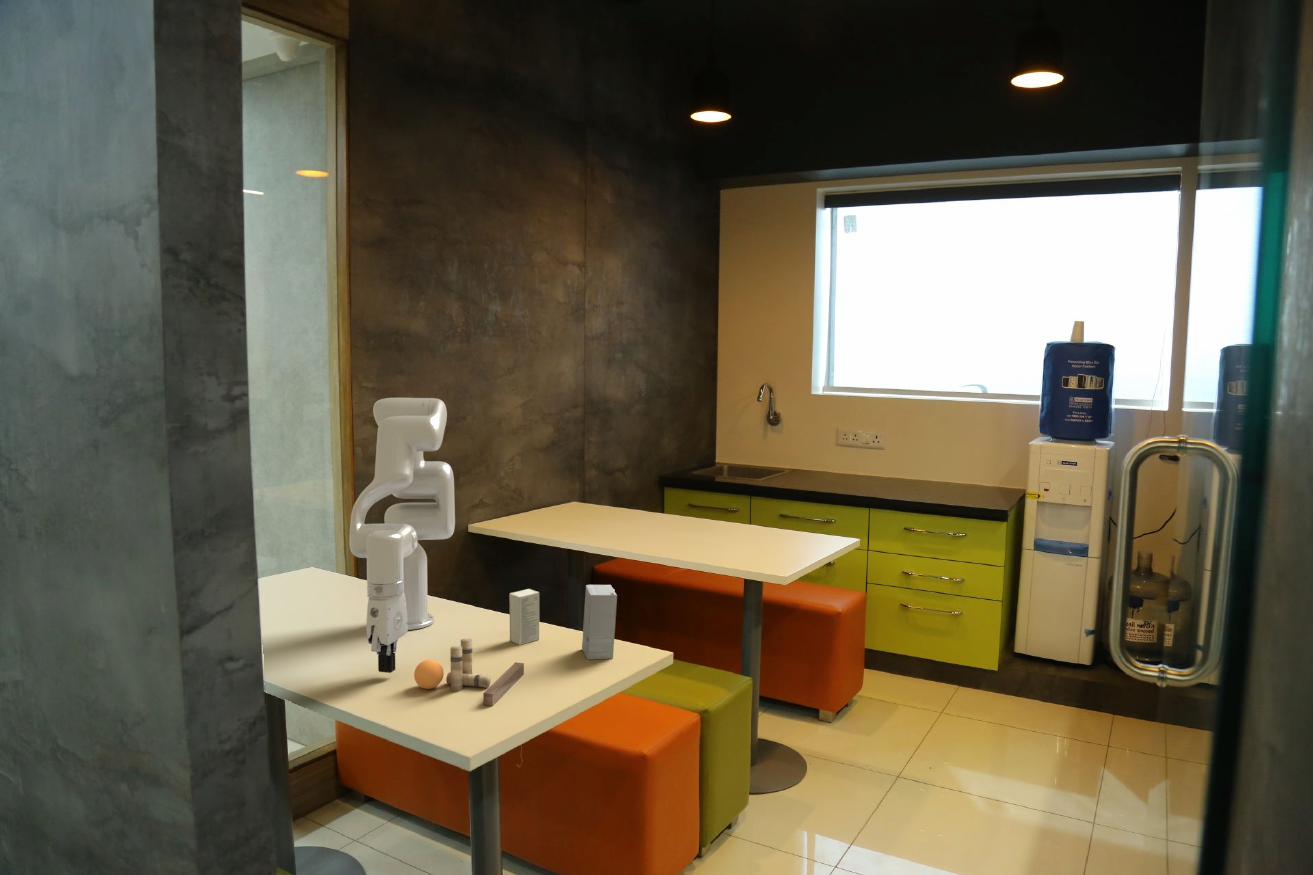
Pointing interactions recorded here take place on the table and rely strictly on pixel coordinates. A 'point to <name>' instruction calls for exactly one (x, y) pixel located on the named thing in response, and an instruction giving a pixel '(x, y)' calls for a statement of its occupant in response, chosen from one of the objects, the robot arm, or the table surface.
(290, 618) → the table surface
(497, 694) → the back wall
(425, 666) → the ball
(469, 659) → the back pin left
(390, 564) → the robot arm
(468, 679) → the front pin
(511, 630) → the skincare box
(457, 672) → the back pin right
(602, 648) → the skincare box
